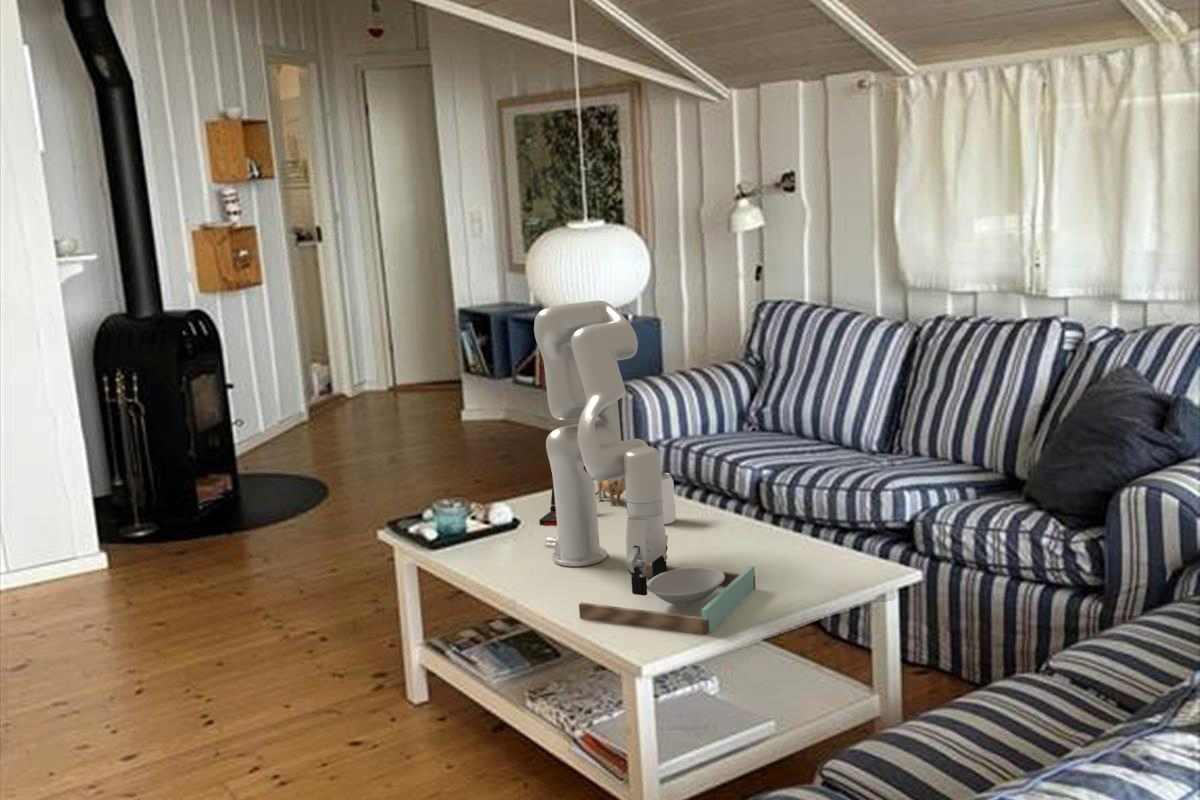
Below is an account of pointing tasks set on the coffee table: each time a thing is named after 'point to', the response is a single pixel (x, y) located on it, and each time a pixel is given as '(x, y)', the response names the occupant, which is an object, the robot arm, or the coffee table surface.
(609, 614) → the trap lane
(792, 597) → the coffee table surface
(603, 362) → the robot arm
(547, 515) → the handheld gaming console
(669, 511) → the can
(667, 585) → the dish
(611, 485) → the lion figurine
